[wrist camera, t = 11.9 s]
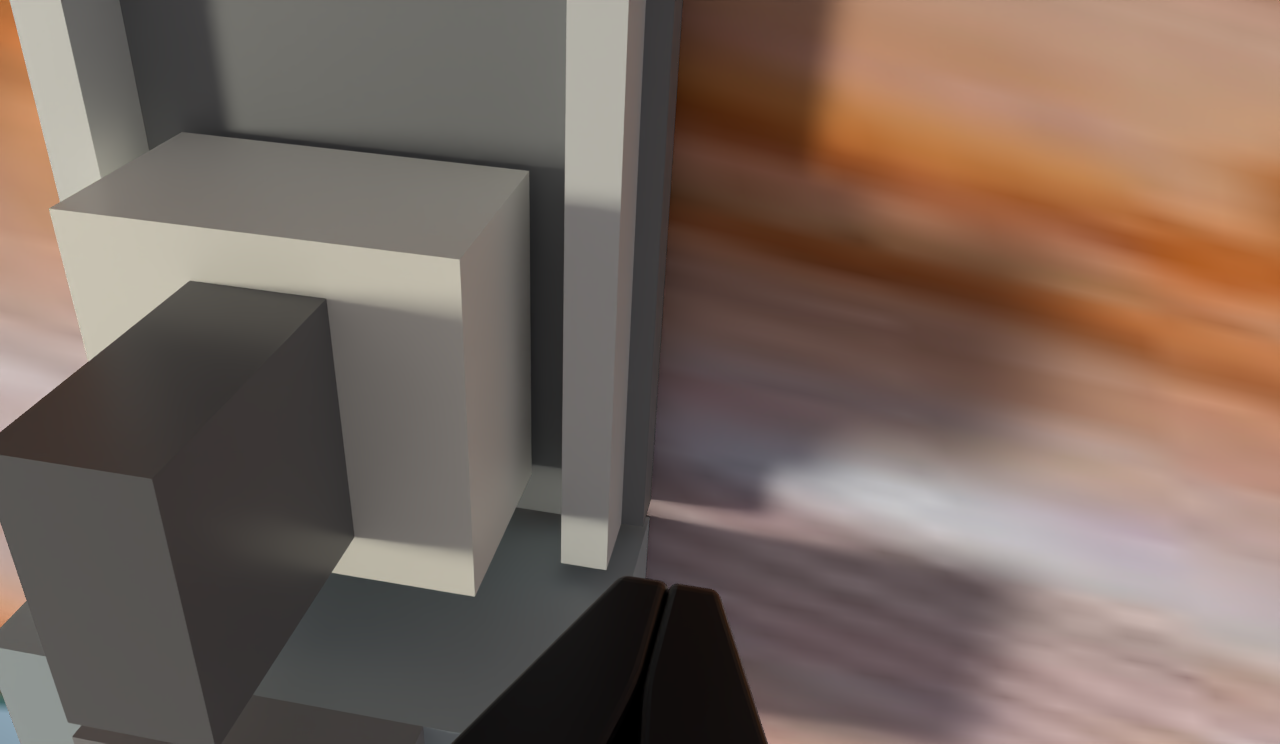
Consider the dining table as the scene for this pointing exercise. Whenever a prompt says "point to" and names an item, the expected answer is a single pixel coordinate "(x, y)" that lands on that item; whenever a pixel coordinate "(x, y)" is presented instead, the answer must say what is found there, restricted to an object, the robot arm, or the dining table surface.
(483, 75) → the rail track
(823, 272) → the dining table surface
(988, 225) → the dining table surface
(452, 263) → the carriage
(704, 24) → the dining table surface
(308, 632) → the cabinet
